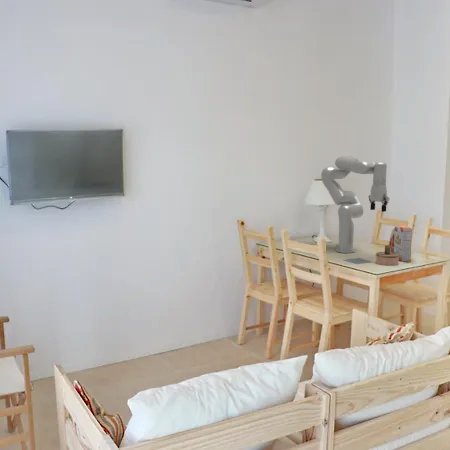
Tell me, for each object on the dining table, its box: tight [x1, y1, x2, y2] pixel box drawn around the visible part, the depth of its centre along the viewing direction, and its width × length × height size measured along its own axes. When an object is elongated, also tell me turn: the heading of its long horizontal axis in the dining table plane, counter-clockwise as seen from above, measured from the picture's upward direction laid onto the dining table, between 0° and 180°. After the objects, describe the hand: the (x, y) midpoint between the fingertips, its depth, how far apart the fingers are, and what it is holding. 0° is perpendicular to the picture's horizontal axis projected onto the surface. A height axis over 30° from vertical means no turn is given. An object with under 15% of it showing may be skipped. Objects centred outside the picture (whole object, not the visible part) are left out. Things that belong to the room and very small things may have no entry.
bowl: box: [375, 255, 400, 266], centre depth 324 cm, size 12×12×5 cm
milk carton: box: [388, 227, 395, 253], centre depth 347 cm, size 9×9×20 cm
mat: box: [343, 257, 373, 265], centre depth 329 cm, size 13×13×1 cm
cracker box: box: [394, 224, 413, 263], centre depth 335 cm, size 14×6×21 cm, turn 2°
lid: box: [375, 244, 399, 258], centre depth 323 cm, size 13×13×6 cm
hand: (378, 210), depth 334 cm, fingers open, 9 cm apart
